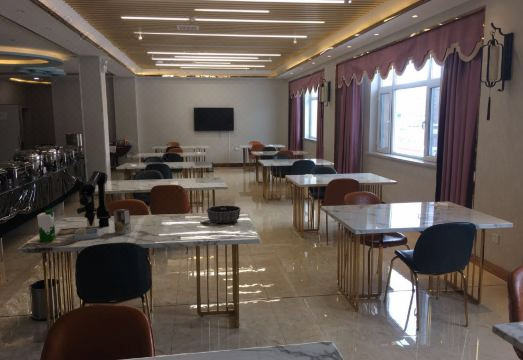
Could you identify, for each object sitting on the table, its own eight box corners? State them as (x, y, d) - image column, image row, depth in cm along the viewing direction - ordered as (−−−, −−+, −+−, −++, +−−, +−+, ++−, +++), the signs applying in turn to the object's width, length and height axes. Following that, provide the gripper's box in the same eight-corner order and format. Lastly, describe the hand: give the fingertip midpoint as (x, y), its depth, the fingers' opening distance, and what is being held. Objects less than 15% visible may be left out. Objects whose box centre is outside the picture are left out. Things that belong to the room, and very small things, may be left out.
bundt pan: (204, 218, 346) (204, 205, 344) (237, 216, 351) (237, 204, 350) (208, 226, 320) (208, 213, 319) (243, 224, 326) (243, 211, 325)
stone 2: (94, 225, 298) (94, 217, 297) (94, 226, 293) (94, 218, 293) (87, 225, 296) (87, 217, 295) (87, 227, 292) (86, 219, 291)
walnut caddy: (88, 228, 317) (88, 226, 317) (87, 233, 303) (87, 231, 303) (60, 230, 311) (60, 228, 311) (57, 235, 297) (57, 234, 297)
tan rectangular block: (86, 235, 297) (85, 227, 296) (85, 237, 293) (85, 229, 292) (79, 235, 295) (78, 227, 295) (78, 237, 291) (77, 229, 290)
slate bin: (99, 233, 304) (98, 228, 303) (97, 238, 290) (97, 233, 290) (77, 234, 300) (76, 229, 299) (74, 240, 286) (74, 235, 286)
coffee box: (131, 231, 306) (130, 209, 304) (125, 234, 300) (124, 211, 298) (120, 230, 309) (119, 208, 307) (114, 233, 303) (113, 210, 301)
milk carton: (52, 242, 282) (49, 212, 279) (37, 242, 281) (35, 212, 278) (57, 238, 291) (55, 209, 288) (43, 239, 290) (40, 209, 287)
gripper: (78, 200, 299) (79, 222, 301) (75, 205, 281) (77, 229, 284) (95, 199, 302) (96, 221, 304) (93, 204, 284) (95, 227, 287)
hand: (91, 224), depth 295 cm, fingers closed on stone 2, 4 cm apart
